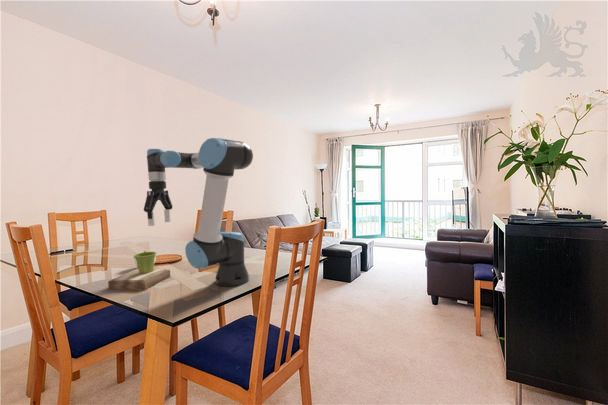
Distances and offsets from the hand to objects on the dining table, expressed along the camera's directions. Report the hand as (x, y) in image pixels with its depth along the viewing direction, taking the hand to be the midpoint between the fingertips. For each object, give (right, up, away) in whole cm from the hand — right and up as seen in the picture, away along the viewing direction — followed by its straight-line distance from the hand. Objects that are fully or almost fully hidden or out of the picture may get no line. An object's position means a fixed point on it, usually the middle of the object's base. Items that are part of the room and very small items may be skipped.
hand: (160, 223), depth 141 cm
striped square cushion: (-5, -27, -7) cm, 29 cm away
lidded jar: (-17, -26, +18) cm, 36 cm away
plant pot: (-5, -23, -3) cm, 24 cm away
